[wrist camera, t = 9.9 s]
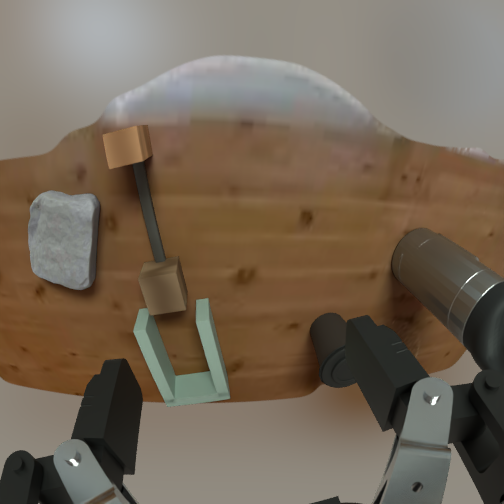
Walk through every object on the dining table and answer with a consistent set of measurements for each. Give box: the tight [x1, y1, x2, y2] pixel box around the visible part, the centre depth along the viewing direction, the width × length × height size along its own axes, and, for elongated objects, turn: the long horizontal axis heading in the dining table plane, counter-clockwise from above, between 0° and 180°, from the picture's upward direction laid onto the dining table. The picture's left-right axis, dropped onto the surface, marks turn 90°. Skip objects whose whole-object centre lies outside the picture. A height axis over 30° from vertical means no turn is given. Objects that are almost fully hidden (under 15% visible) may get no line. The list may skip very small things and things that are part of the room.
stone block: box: [28, 191, 100, 290], centre depth 34 cm, size 12×5×10 cm
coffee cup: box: [310, 313, 356, 388], centre depth 42 cm, size 8×8×10 cm
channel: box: [134, 298, 230, 407], centre depth 42 cm, size 10×15×5 cm, turn 8°
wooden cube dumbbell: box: [103, 125, 187, 316], centre depth 34 cm, size 4×21×6 cm, turn 8°
